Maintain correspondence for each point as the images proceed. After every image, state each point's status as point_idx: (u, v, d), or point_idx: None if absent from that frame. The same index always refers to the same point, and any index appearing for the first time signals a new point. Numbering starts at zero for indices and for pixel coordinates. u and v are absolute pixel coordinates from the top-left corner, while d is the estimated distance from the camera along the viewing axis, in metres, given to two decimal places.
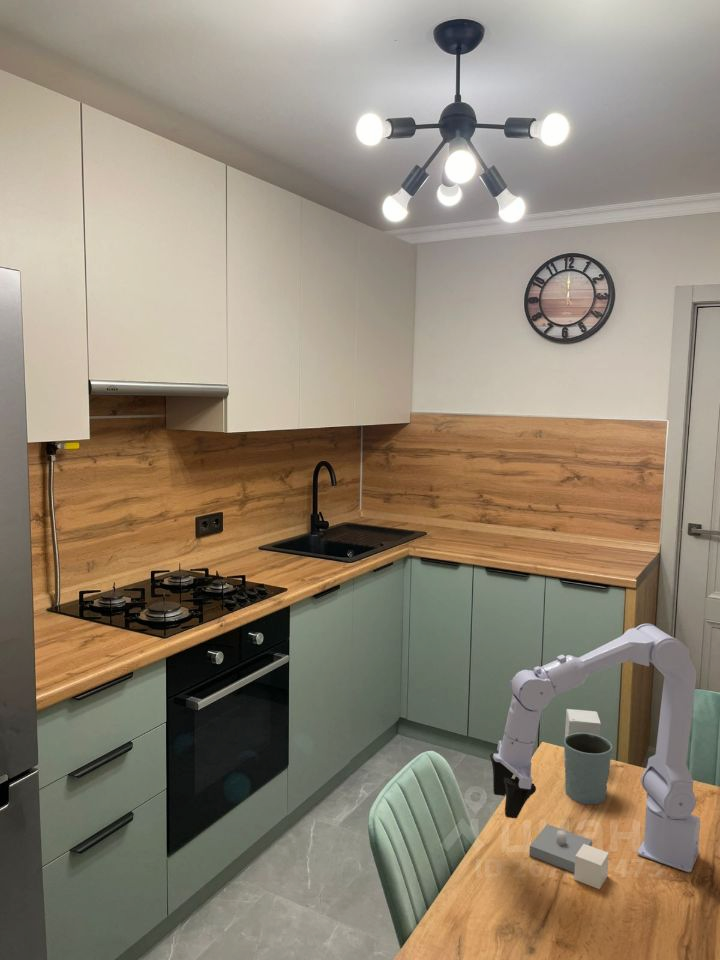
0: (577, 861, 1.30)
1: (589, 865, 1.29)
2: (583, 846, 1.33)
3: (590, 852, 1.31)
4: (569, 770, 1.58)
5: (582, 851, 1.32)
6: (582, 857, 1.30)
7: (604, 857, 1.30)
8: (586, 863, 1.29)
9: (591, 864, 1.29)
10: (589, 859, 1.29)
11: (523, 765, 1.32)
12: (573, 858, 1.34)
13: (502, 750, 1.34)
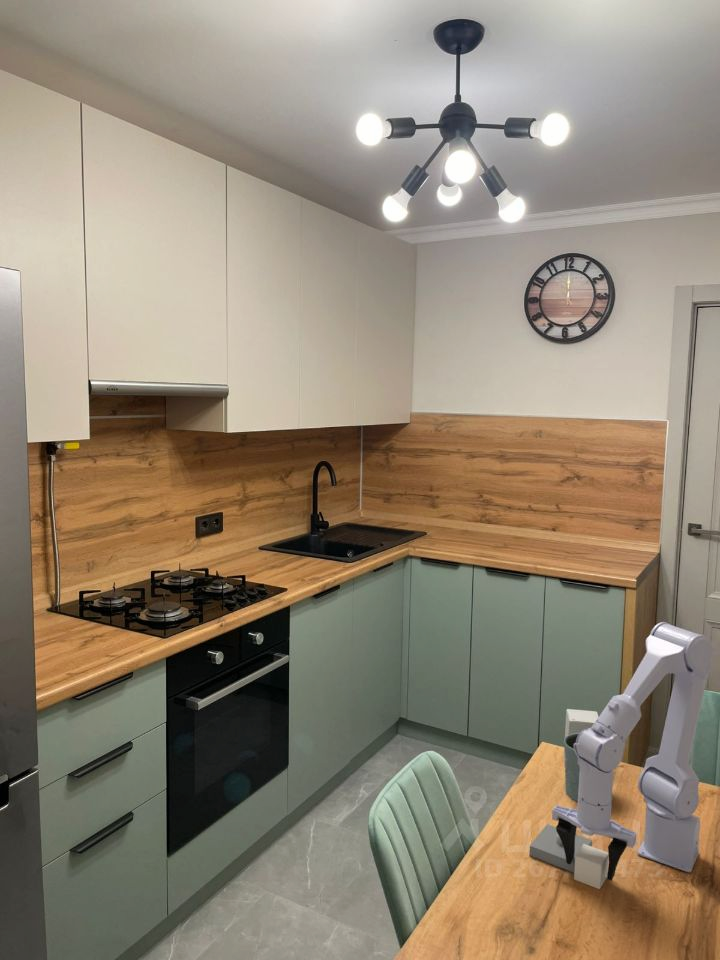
0: (577, 861, 1.30)
1: (589, 865, 1.29)
2: (583, 846, 1.33)
3: (590, 852, 1.31)
4: (569, 770, 1.58)
5: (582, 851, 1.32)
6: (582, 857, 1.30)
7: (604, 857, 1.30)
8: (586, 863, 1.29)
9: (591, 864, 1.29)
10: (589, 859, 1.29)
11: (610, 823, 1.29)
12: (573, 858, 1.34)
13: (591, 821, 1.28)
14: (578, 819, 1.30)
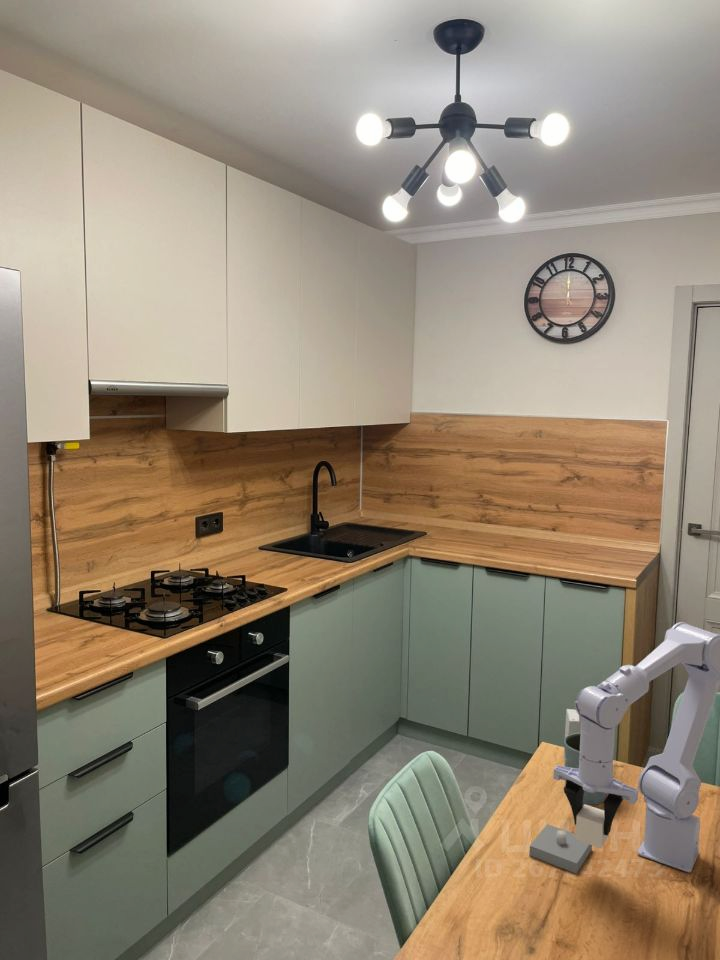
0: (578, 821, 1.30)
1: (590, 824, 1.29)
2: (584, 806, 1.33)
3: (591, 812, 1.31)
4: None
5: (584, 811, 1.31)
6: (583, 817, 1.30)
7: None
8: (587, 822, 1.29)
9: (592, 823, 1.28)
10: (590, 818, 1.29)
11: (611, 781, 1.29)
12: (573, 858, 1.34)
13: (592, 778, 1.27)
14: (580, 777, 1.29)
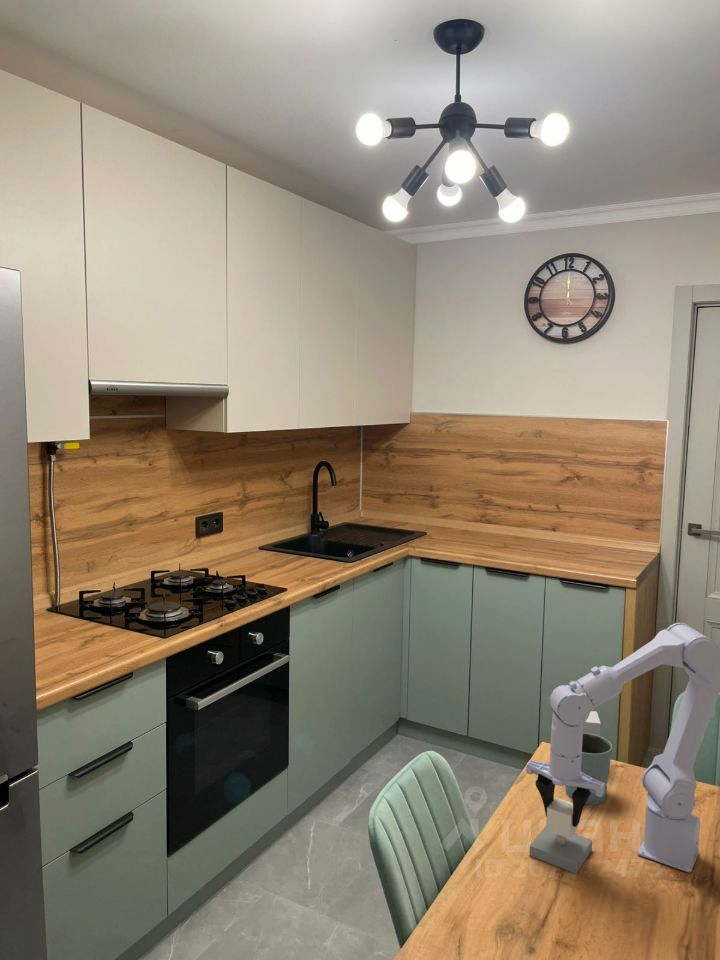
0: (549, 813, 1.37)
1: (560, 816, 1.36)
2: (555, 799, 1.40)
3: (561, 805, 1.38)
4: None
5: (554, 804, 1.38)
6: (553, 809, 1.37)
7: None
8: (557, 814, 1.36)
9: (562, 815, 1.36)
10: (560, 811, 1.36)
11: (580, 775, 1.36)
12: (573, 858, 1.34)
13: (562, 772, 1.34)
14: (550, 771, 1.37)
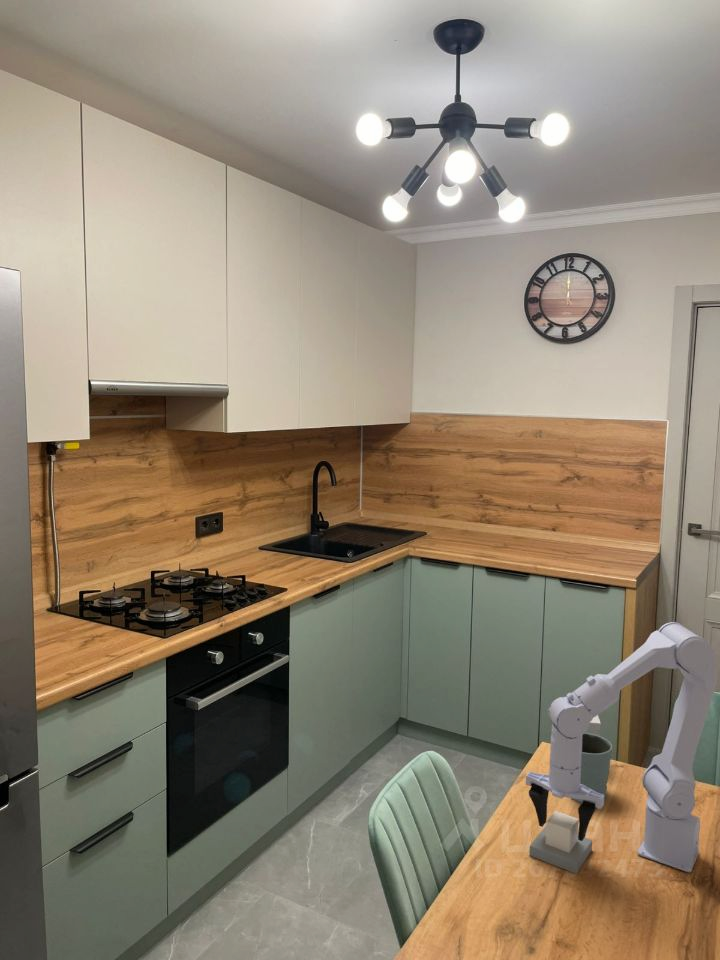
0: (548, 826, 1.37)
1: (559, 830, 1.36)
2: (554, 813, 1.40)
3: (561, 818, 1.39)
4: None
5: (553, 817, 1.39)
6: (553, 822, 1.37)
7: (574, 823, 1.37)
8: (556, 828, 1.36)
9: (561, 829, 1.36)
10: (559, 824, 1.36)
11: (579, 786, 1.36)
12: (573, 858, 1.34)
13: (561, 784, 1.35)
14: (550, 783, 1.37)
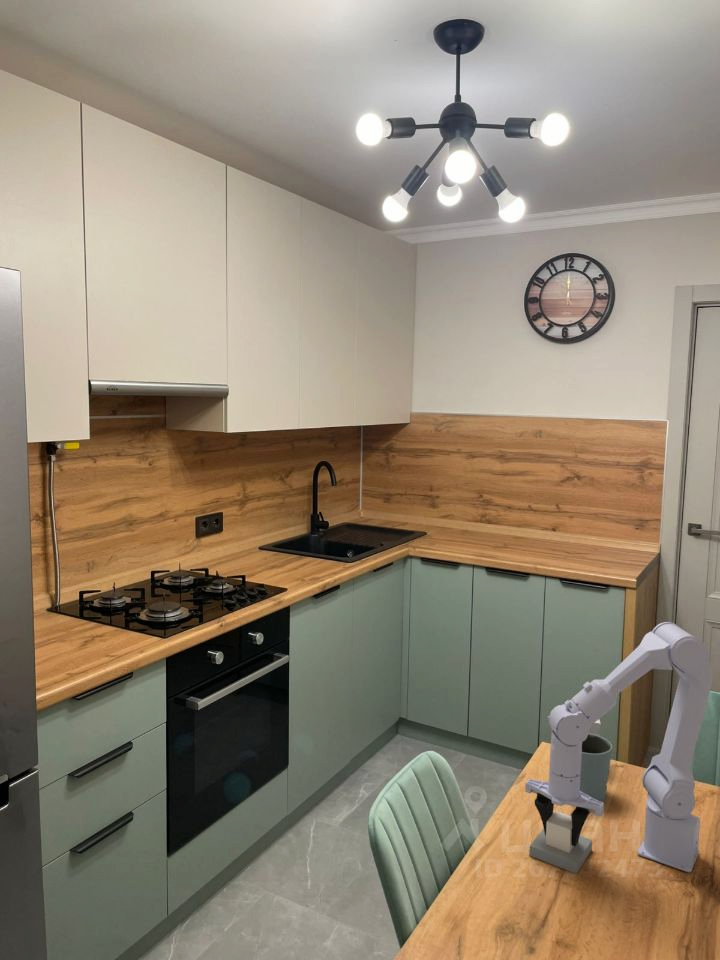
0: (548, 826, 1.37)
1: (559, 830, 1.36)
2: (554, 813, 1.40)
3: (561, 818, 1.39)
4: None
5: (554, 817, 1.39)
6: (553, 822, 1.37)
7: None
8: (556, 828, 1.36)
9: (561, 829, 1.36)
10: (559, 824, 1.36)
11: (579, 794, 1.36)
12: (573, 858, 1.34)
13: (561, 792, 1.35)
14: (549, 791, 1.37)
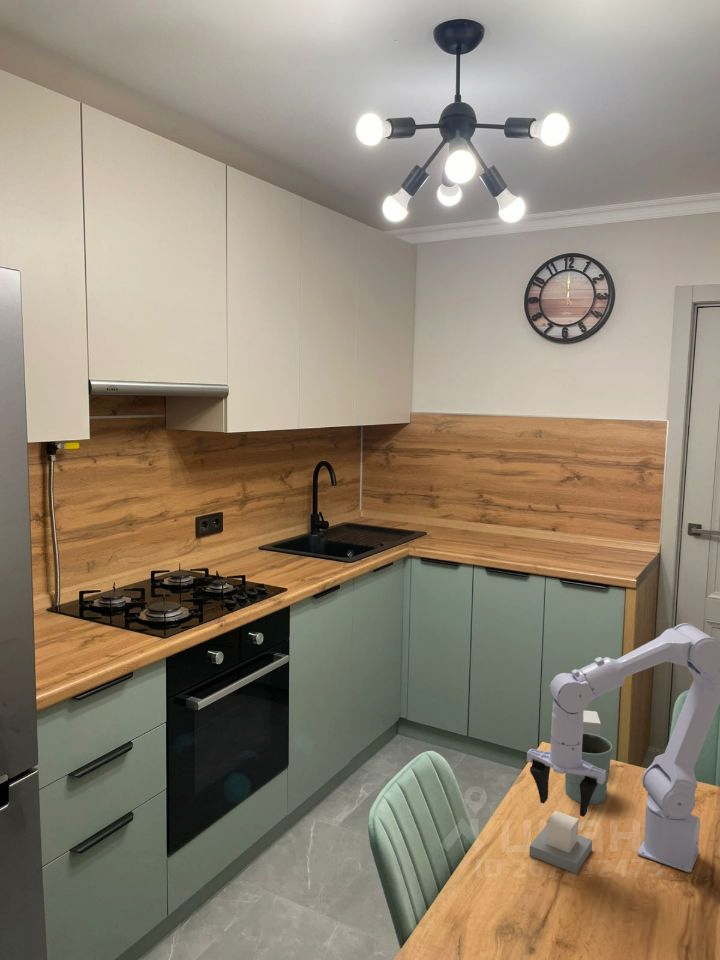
0: (548, 826, 1.37)
1: (559, 830, 1.36)
2: (555, 813, 1.40)
3: (561, 818, 1.39)
4: None
5: (554, 817, 1.39)
6: (553, 822, 1.37)
7: (574, 823, 1.37)
8: (557, 828, 1.36)
9: (561, 829, 1.36)
10: (559, 824, 1.36)
11: (581, 762, 1.36)
12: (573, 858, 1.34)
13: (562, 760, 1.34)
14: (551, 759, 1.36)
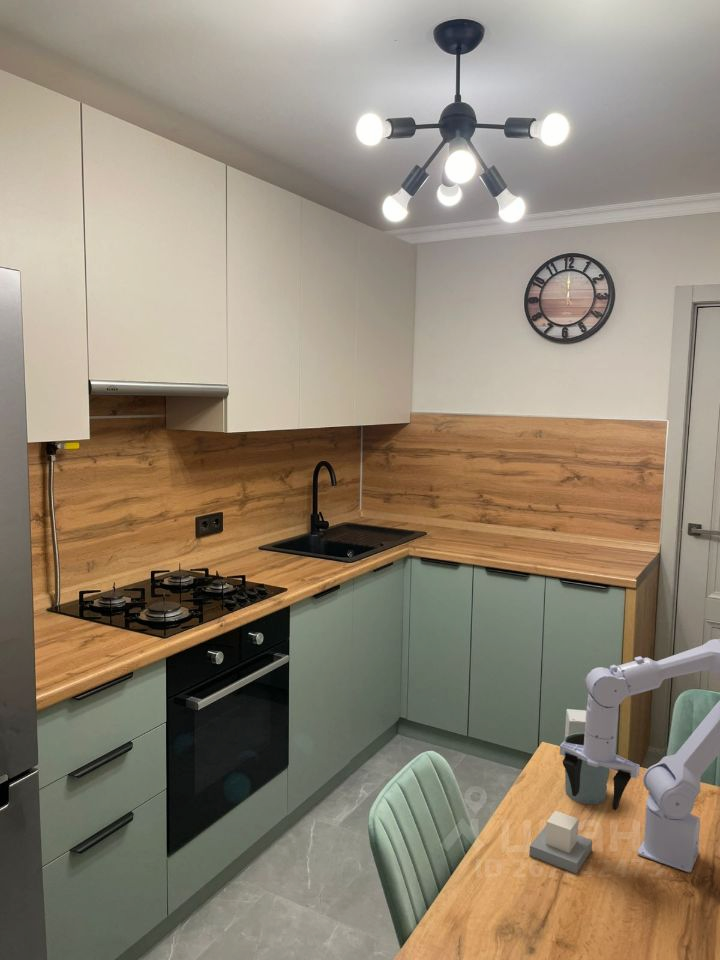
0: (548, 826, 1.37)
1: (559, 830, 1.36)
2: (555, 813, 1.40)
3: (561, 818, 1.39)
4: None
5: (554, 817, 1.39)
6: (553, 822, 1.37)
7: (574, 823, 1.37)
8: (557, 828, 1.36)
9: (561, 829, 1.36)
10: (559, 824, 1.36)
11: (614, 756, 1.37)
12: (573, 858, 1.34)
13: (597, 753, 1.35)
14: (584, 753, 1.38)
